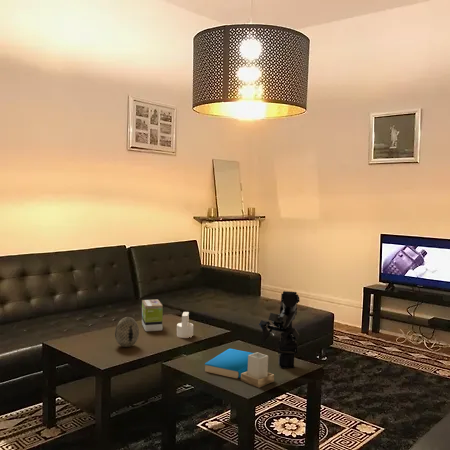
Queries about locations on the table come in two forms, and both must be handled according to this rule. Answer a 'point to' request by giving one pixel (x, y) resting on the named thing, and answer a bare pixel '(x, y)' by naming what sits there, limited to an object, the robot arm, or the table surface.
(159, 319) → the tea box
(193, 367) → the table surface
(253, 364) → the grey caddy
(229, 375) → the book
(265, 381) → the pine crate
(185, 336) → the cylinder with rectangular tab
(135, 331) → the decorative egg
